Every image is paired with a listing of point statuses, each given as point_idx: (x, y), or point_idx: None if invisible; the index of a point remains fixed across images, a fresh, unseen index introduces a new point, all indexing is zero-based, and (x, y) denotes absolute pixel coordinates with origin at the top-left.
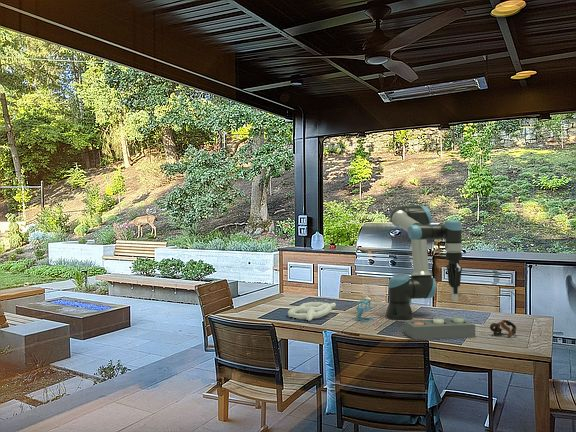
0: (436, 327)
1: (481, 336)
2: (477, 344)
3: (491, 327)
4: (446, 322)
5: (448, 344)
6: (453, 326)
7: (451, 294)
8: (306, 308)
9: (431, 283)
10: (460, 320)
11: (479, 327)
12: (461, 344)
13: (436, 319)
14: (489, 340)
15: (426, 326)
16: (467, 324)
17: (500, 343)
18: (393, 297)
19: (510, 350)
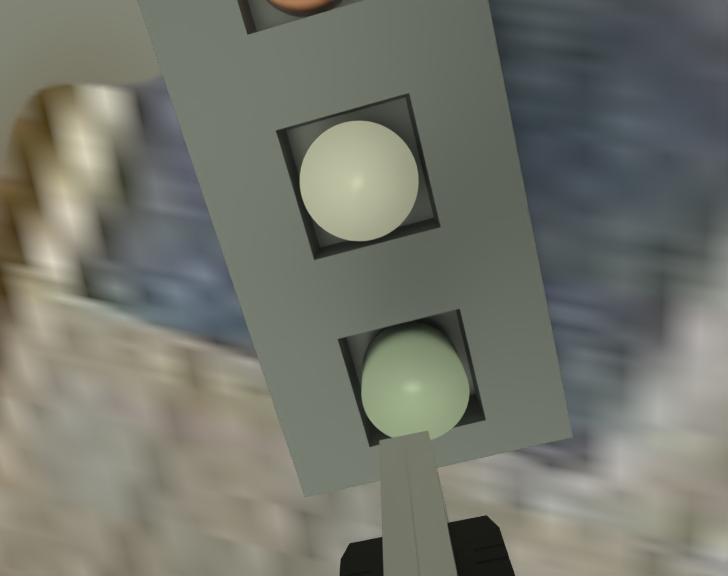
0: (185, 129)
1: None
2: (108, 406)
3: None
4: (373, 262)
5: (56, 199)
6: (241, 302)
7: (424, 489)
8: None
9: None
10: (362, 401)
11: (644, 534)
12: (81, 297)
13: (357, 158)
14: (239, 507)
15: (144, 12)
16: (303, 437)
17: (169, 551)
18: None
19: (4, 561)
